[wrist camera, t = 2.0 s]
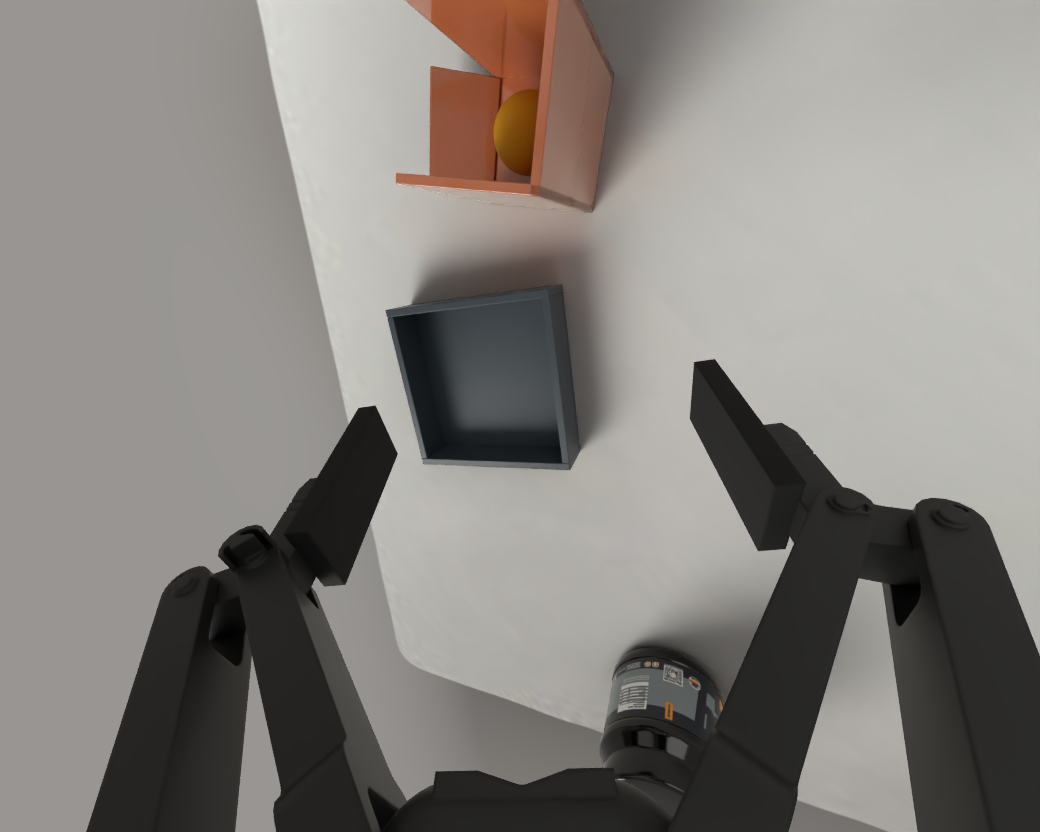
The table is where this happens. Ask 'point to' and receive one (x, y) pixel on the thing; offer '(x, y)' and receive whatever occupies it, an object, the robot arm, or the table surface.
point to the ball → (517, 131)
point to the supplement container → (659, 722)
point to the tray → (490, 379)
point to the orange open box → (515, 66)
